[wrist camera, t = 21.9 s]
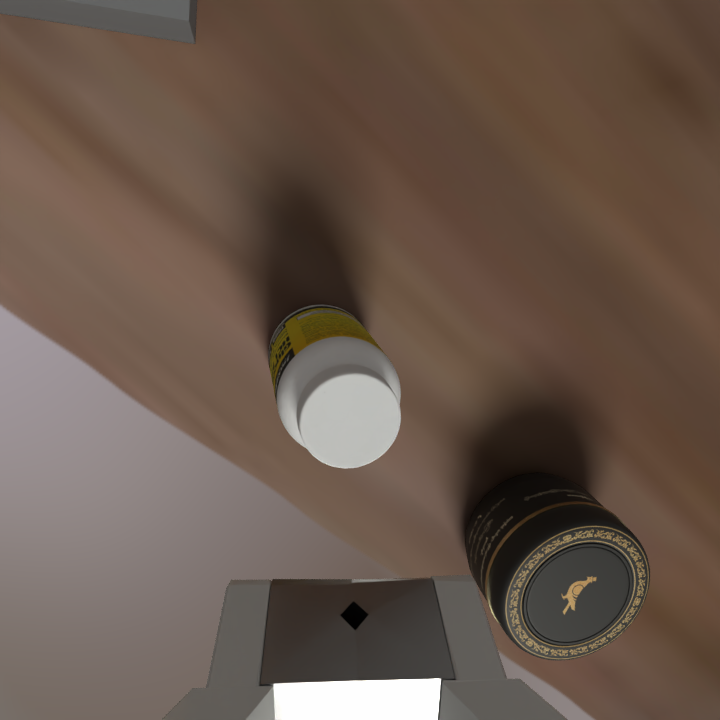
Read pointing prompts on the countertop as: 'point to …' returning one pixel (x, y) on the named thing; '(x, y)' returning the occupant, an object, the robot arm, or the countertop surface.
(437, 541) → the countertop surface
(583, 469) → the countertop surface
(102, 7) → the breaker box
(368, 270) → the countertop surface
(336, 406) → the pill bottle
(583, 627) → the jar
